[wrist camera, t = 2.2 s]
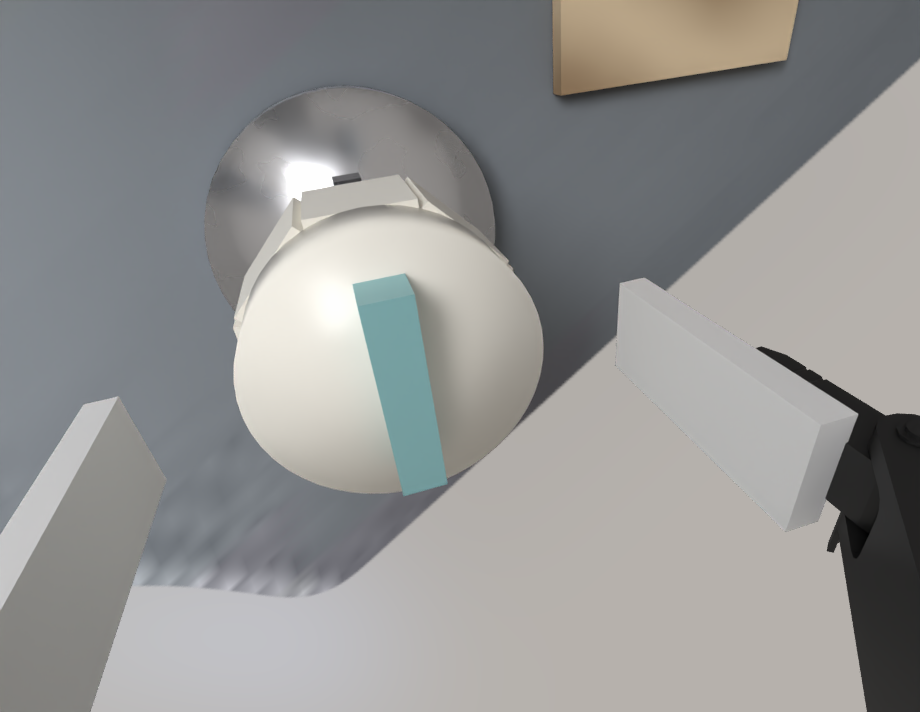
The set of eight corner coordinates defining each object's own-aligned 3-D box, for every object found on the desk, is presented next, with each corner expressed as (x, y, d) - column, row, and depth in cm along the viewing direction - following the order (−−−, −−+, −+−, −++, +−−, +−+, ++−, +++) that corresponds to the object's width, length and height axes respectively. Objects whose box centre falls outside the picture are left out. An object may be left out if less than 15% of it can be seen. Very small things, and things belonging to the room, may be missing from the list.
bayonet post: (160, 110, 19) (47, 158, 10) (472, 65, 21) (586, 76, 12) (263, 376, 25) (244, 537, 17) (494, 323, 27) (579, 444, 19)
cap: (212, 205, 14) (163, 291, 9) (476, 159, 16) (562, 212, 11) (291, 418, 19) (288, 558, 13) (495, 368, 20) (562, 479, 15)
